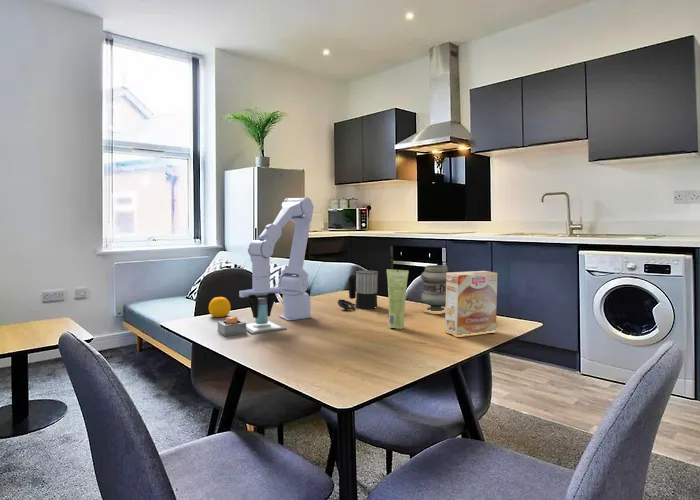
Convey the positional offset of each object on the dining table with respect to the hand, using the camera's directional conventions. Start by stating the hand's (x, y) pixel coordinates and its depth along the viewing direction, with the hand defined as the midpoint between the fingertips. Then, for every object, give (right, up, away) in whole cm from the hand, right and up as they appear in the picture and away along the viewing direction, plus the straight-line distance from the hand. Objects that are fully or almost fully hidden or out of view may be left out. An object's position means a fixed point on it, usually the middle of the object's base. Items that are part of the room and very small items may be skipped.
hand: (261, 316), depth 152 cm
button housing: (-8, -4, -6) cm, 11 cm away
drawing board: (0, -4, 0) cm, 4 cm away
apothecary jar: (+63, -2, +25) cm, 68 cm away
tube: (+45, -4, 0) cm, 45 cm away
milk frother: (+33, -2, +33) cm, 47 cm away
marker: (0, -2, 0) cm, 2 cm away
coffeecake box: (+68, -4, -7) cm, 68 cm away
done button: (-8, -2, -6) cm, 11 cm away
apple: (-19, -3, +18) cm, 26 cm away
